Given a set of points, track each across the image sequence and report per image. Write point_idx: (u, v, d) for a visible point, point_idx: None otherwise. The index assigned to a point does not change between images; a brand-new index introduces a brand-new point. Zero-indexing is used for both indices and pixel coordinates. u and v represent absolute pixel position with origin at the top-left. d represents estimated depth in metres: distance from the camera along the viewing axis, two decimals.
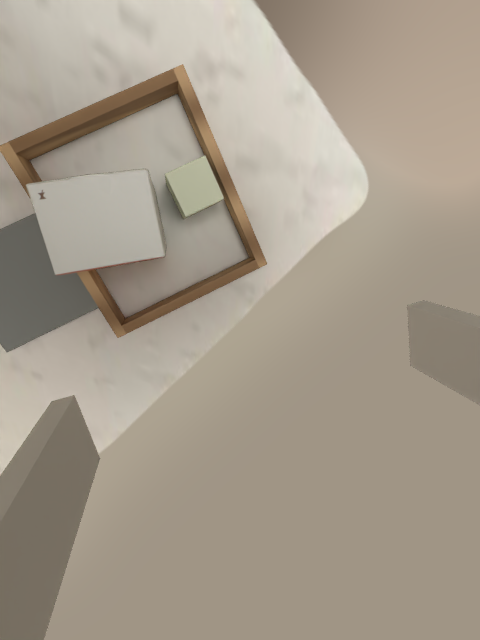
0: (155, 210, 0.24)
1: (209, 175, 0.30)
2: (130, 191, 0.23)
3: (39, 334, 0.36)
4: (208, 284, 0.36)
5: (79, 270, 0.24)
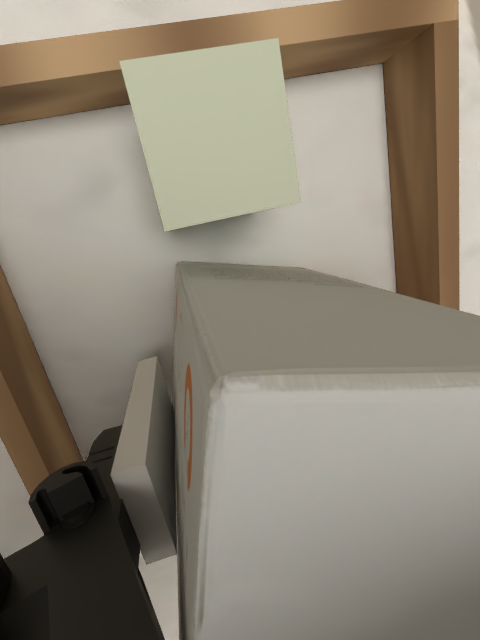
0: (468, 378, 0.04)
1: (191, 69, 0.08)
2: (330, 511, 0.03)
3: None
4: (441, 192, 0.14)
5: None
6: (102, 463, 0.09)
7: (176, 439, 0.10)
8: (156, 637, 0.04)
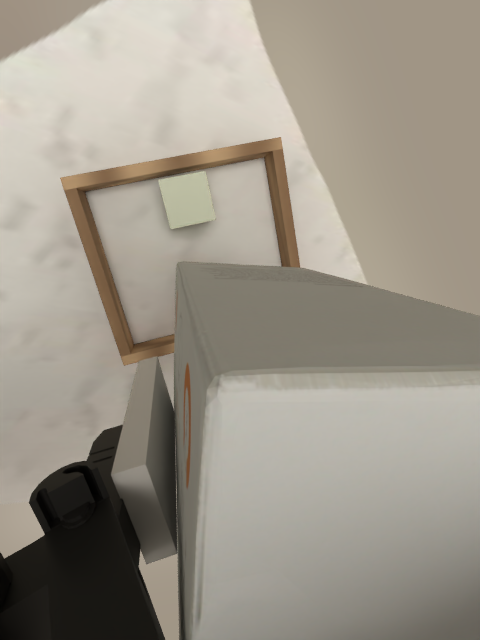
0: (464, 376, 0.04)
1: (179, 181, 0.27)
2: (326, 508, 0.04)
3: None
4: (283, 213, 0.33)
5: None
6: (102, 463, 0.09)
7: (176, 438, 0.10)
8: (156, 637, 0.04)
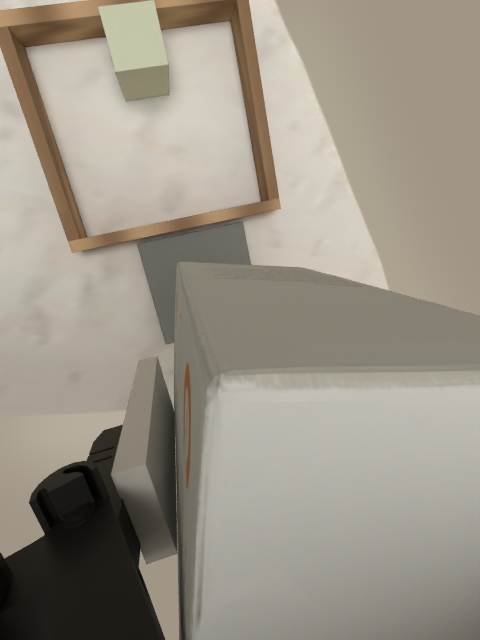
0: (465, 376, 0.04)
1: (123, 10, 0.24)
2: (328, 508, 0.03)
3: None
4: (251, 79, 0.29)
5: None
6: (102, 463, 0.09)
7: (176, 438, 0.10)
8: (156, 637, 0.04)
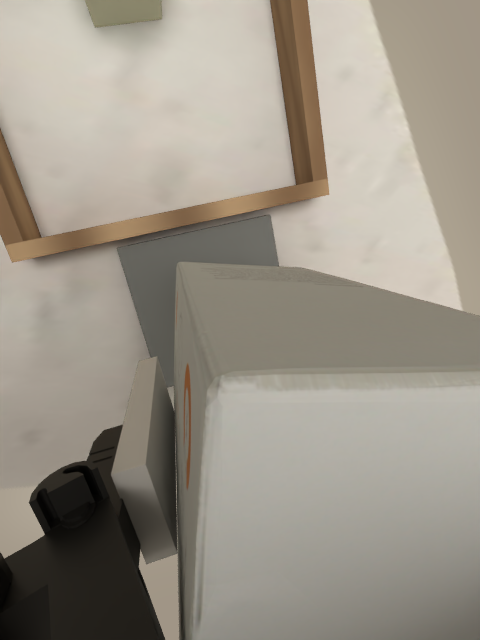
0: (465, 377, 0.04)
1: None
2: (328, 509, 0.03)
3: None
4: None
5: None
6: (102, 463, 0.09)
7: None
8: (156, 637, 0.04)
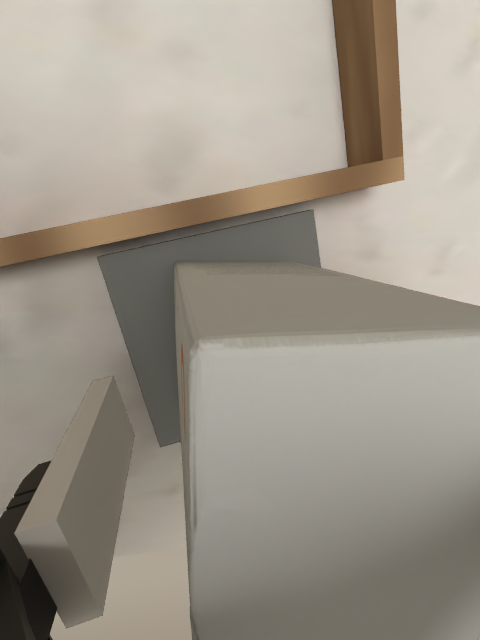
0: (384, 336, 0.05)
1: None
2: (285, 437, 0.05)
3: None
4: None
5: None
6: (24, 508, 0.08)
7: None
8: None
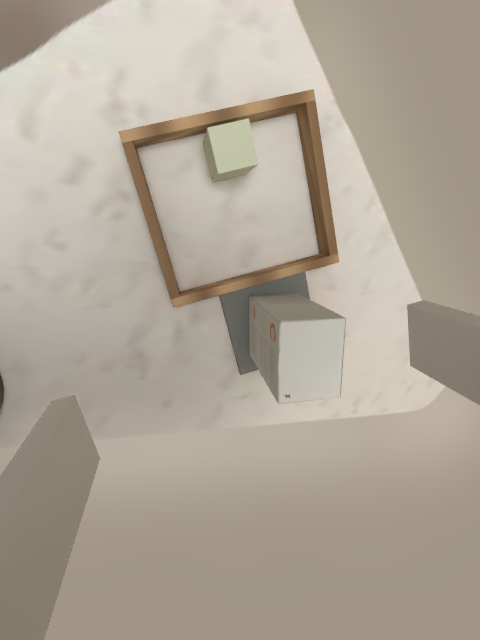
0: (310, 320, 0.29)
1: (225, 128, 0.31)
2: (294, 337, 0.29)
3: None
4: (316, 162, 0.36)
5: (340, 381, 0.31)
6: None
7: (261, 349, 0.35)
8: None
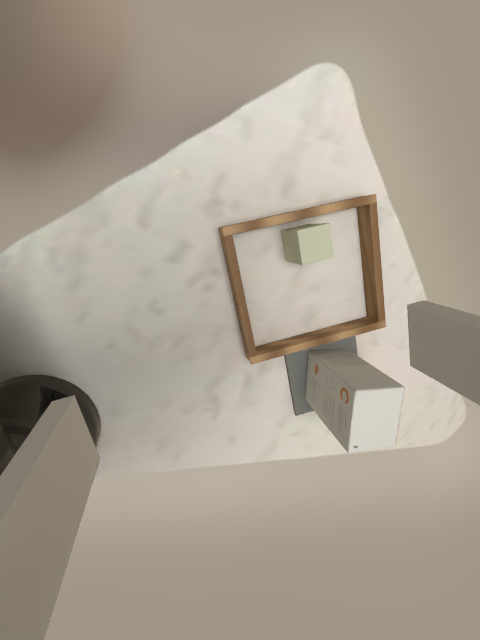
0: (378, 388, 0.37)
1: (311, 230, 0.38)
2: (365, 402, 0.36)
3: None
4: (374, 249, 0.43)
5: (396, 434, 0.39)
6: None
7: (326, 402, 0.43)
8: None
